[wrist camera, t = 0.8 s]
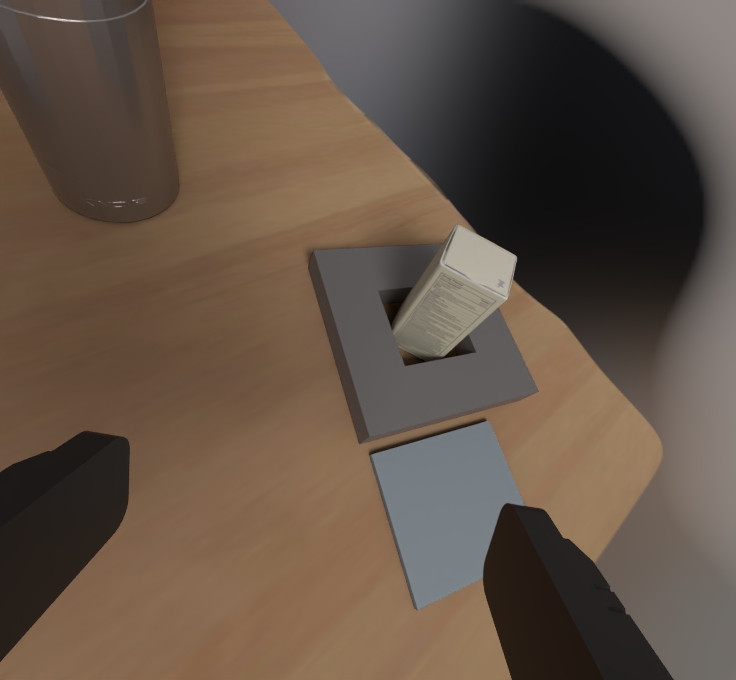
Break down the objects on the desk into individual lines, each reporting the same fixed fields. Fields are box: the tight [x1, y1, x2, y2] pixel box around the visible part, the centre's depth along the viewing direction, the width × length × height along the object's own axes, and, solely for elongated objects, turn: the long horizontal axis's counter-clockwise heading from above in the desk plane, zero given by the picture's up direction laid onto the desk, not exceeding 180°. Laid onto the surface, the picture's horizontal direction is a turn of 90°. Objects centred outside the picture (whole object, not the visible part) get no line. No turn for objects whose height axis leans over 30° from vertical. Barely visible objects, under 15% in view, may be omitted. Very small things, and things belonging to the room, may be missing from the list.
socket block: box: [309, 244, 539, 444], centre depth 33 cm, size 16×16×2 cm
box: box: [391, 224, 517, 362], centre depth 30 cm, size 5×4×11 cm
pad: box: [370, 421, 525, 610], centre depth 29 cm, size 10×11×1 cm
